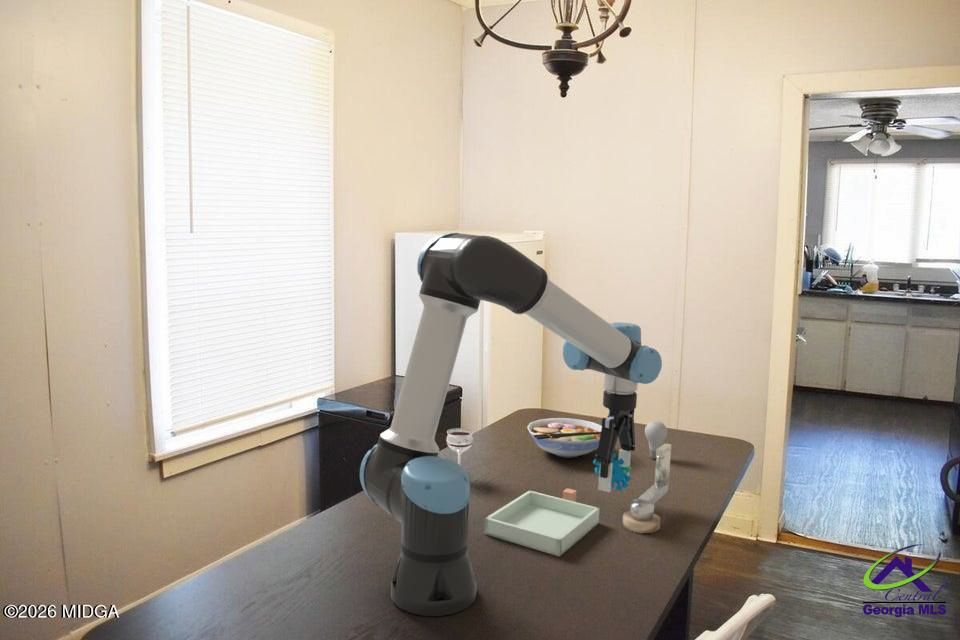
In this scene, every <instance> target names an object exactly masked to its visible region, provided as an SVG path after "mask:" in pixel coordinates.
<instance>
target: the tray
mask: <svg viewBox="0 0 960 640" xmlns="http://www.w3.org/2000/svg"><path fill="white" fill-rule="evenodd" d="M599 523H600V507H596V506H594V505H590V504H589V505H588V504H585V503H582V502H581V503H580V502H577V501H576V502H573V501H569V500H565V499H562V497H561V498H560V497H557V496H552V495H549V494H545V493H542V492H541V493H540V492H537V491H535V490H534V491H533V490H528V491H526V492H524V493H523V494H522V495H519V496H518V497H517V498H515V499H513V500H511V501H510V502H509V503H507V504H505V505H504V506H502V507H501V508H498V509H497V510H496V511H494V512H493V513H491V514H489V515H488V516H486V517H485V518H484V528H483V529H484V530H483V533H484V535H486V536H489V537H493V538H496V539H499V540H503V541H506V542H508V543H513V544H516V545H519V546H522V547H526V548H530V549H532V550H537V551H539V552H543V553H546V554H550V555H553V556H556V557H561V556H562V555H563V554H564V553H565V552H567V551H568V550H569V549H570V548H571V547H573V546H574V545H575V544H577V542H578V541H580V540H581V539H582V538H584V536H586V535H587V534H588V533H589V532H591V530H593V529H594V528H596V527H597V526H598V524H599Z"/></svg>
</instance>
